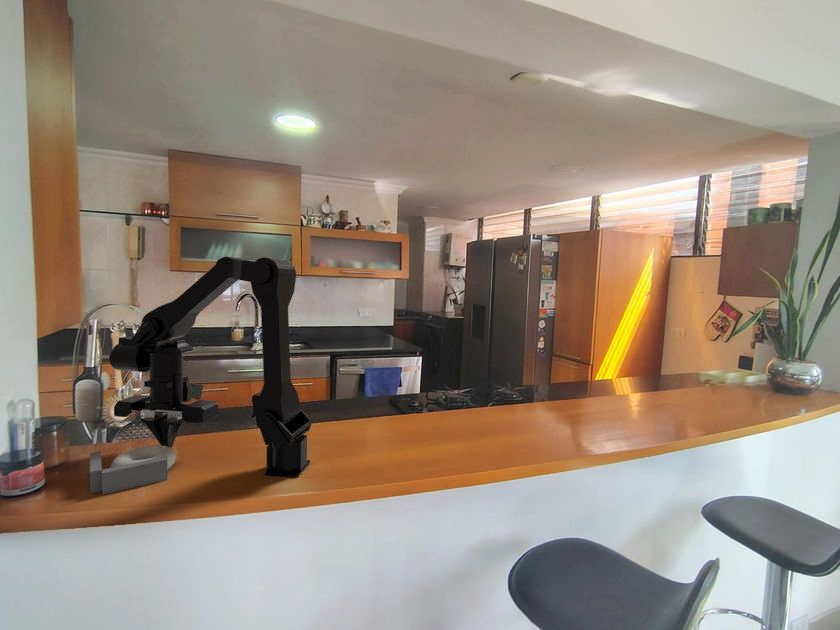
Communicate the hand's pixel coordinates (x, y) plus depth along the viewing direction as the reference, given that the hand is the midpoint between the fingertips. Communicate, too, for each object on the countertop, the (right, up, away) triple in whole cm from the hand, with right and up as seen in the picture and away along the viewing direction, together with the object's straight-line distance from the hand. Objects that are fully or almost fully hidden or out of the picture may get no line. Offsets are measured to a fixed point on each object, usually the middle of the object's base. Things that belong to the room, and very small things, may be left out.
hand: (167, 449), depth 81 cm
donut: (+3, 0, -3) cm, 4 cm away
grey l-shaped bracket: (-1, -2, -12) cm, 12 cm away
